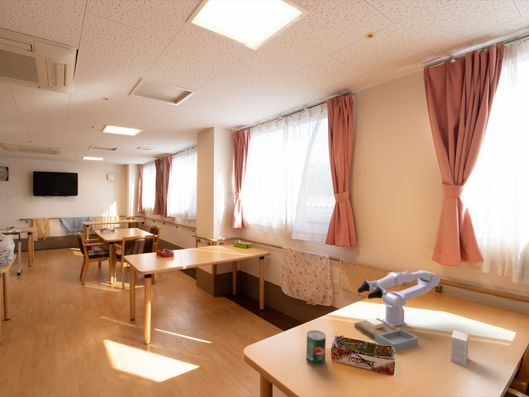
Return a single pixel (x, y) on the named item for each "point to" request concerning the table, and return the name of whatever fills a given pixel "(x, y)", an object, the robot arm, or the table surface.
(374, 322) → the tile
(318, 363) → the canned tomato
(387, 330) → the board
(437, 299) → the table surface
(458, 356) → the small box
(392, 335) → the box
